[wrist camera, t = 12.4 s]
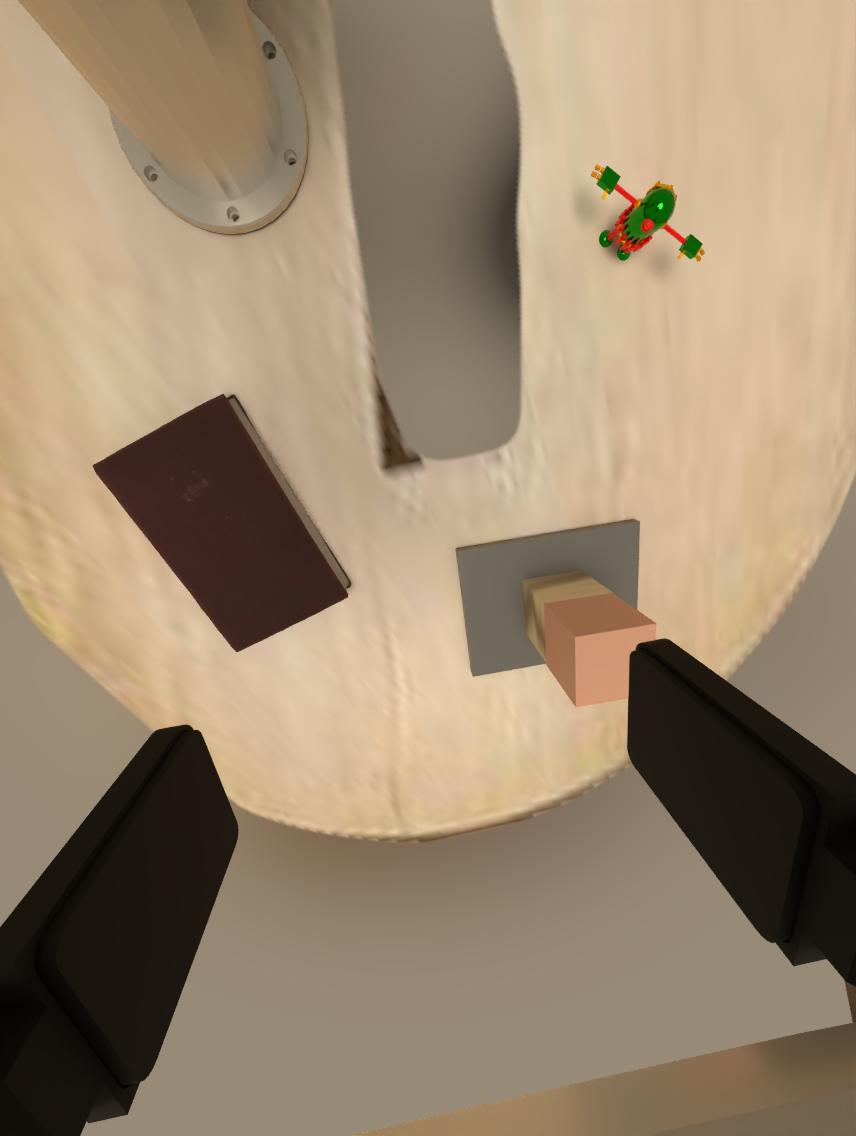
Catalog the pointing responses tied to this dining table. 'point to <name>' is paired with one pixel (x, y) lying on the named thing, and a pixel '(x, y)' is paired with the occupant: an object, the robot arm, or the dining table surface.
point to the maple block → (553, 599)
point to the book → (226, 522)
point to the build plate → (504, 564)
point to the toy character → (643, 218)
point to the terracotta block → (593, 646)
